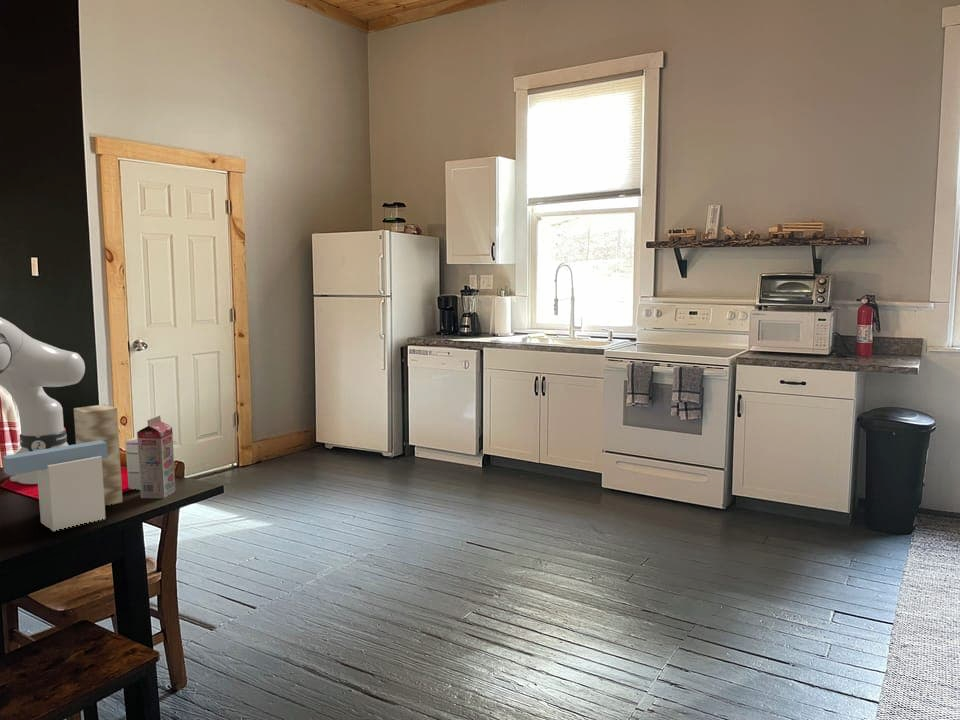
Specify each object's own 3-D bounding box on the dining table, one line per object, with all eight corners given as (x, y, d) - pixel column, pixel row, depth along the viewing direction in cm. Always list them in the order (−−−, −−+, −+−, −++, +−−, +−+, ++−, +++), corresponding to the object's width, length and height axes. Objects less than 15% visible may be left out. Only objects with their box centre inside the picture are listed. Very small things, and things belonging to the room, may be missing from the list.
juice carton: (140, 497, 202) (136, 420, 200) (152, 490, 209) (148, 415, 206) (164, 498, 202) (160, 420, 199) (175, 491, 209) (171, 415, 206)
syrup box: (146, 490, 209) (143, 440, 207) (127, 489, 210) (124, 439, 208) (158, 484, 215) (155, 436, 213) (140, 483, 216) (137, 435, 214)
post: (91, 509, 193) (85, 412, 189) (79, 502, 198) (73, 408, 195) (122, 502, 199) (116, 408, 195) (110, 495, 204) (105, 404, 201)
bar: (9, 475, 171) (7, 459, 170) (4, 472, 173) (2, 456, 173) (107, 457, 187) (106, 442, 186) (101, 455, 189) (100, 440, 189)
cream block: (53, 531, 176) (48, 466, 174) (40, 522, 182) (36, 459, 180) (105, 519, 185) (101, 456, 183) (91, 510, 191) (87, 450, 189)
